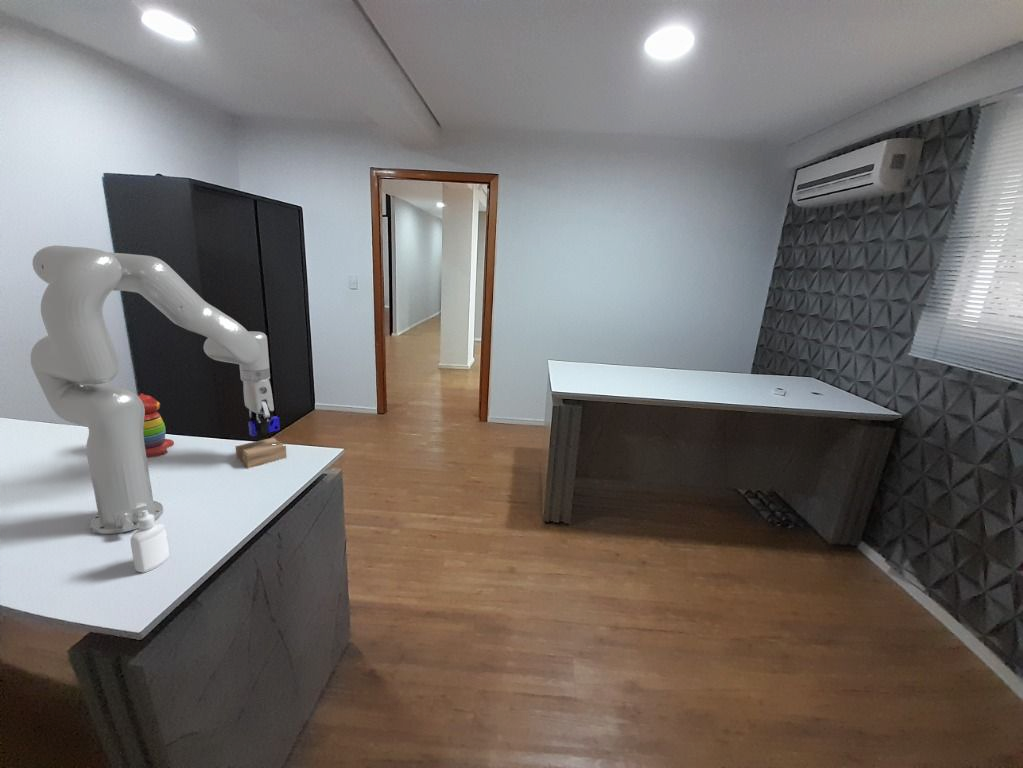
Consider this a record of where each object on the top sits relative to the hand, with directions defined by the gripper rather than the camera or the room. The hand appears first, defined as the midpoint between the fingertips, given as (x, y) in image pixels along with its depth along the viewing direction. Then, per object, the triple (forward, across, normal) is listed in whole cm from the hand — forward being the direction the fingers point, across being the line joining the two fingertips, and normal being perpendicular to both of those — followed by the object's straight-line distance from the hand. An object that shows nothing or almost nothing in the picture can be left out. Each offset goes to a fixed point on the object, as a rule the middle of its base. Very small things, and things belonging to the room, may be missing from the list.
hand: (260, 431), depth 132 cm
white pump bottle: (+9, -36, +34) cm, 50 cm away
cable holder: (0, 0, -1) cm, 1 cm away
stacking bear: (+9, +26, +22) cm, 35 cm away
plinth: (+9, 0, 0) cm, 9 cm away
